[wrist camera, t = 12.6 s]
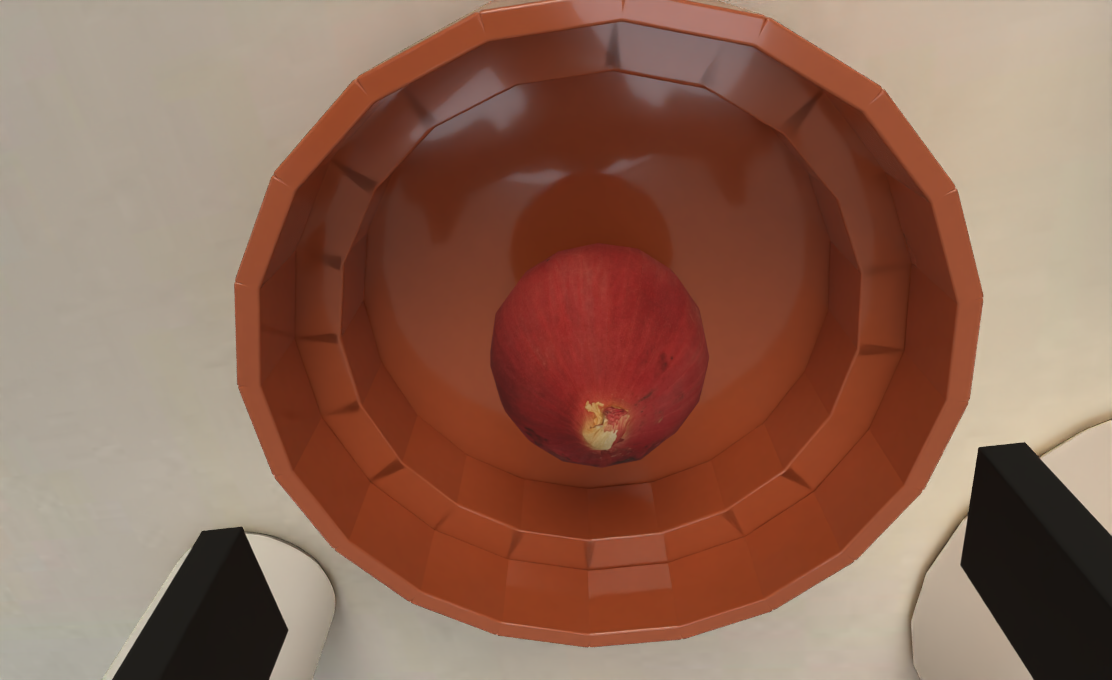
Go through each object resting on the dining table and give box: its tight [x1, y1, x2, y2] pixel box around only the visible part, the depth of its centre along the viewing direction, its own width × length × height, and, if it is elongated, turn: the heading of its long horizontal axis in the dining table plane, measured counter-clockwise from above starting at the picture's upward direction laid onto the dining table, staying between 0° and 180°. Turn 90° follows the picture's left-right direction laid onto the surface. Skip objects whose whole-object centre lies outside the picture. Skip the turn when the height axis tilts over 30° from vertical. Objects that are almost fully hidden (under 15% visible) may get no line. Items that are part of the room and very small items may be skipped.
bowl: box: [234, 0, 983, 647], centre depth 21 cm, size 18×18×6 cm
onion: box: [490, 243, 709, 468], centre depth 20 cm, size 6×6×8 cm
